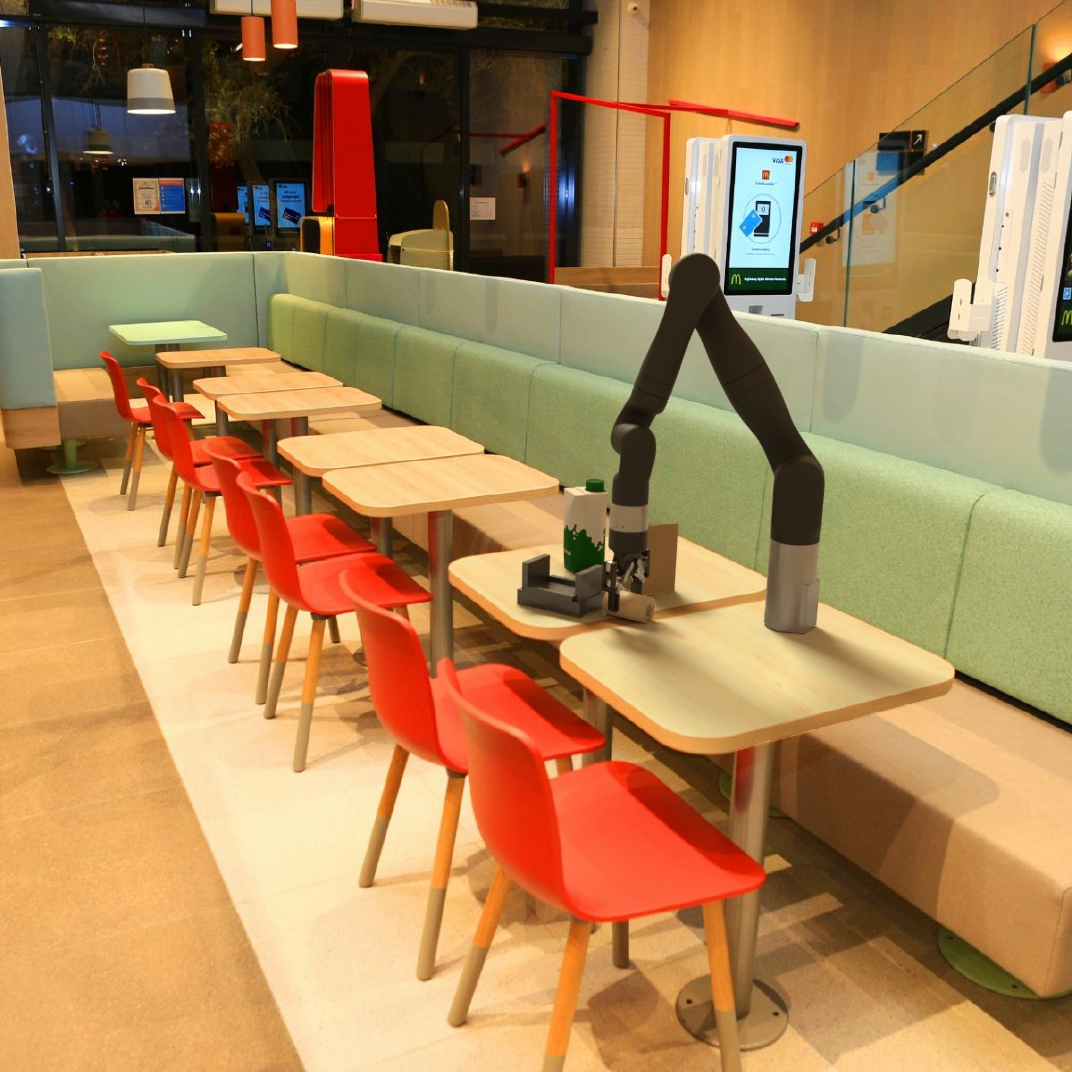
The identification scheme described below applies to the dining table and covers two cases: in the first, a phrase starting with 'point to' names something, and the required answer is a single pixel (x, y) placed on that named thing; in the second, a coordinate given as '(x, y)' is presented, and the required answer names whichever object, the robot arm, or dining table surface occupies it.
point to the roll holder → (560, 588)
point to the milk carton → (585, 525)
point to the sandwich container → (660, 559)
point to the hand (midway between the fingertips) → (624, 605)
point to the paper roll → (632, 607)
